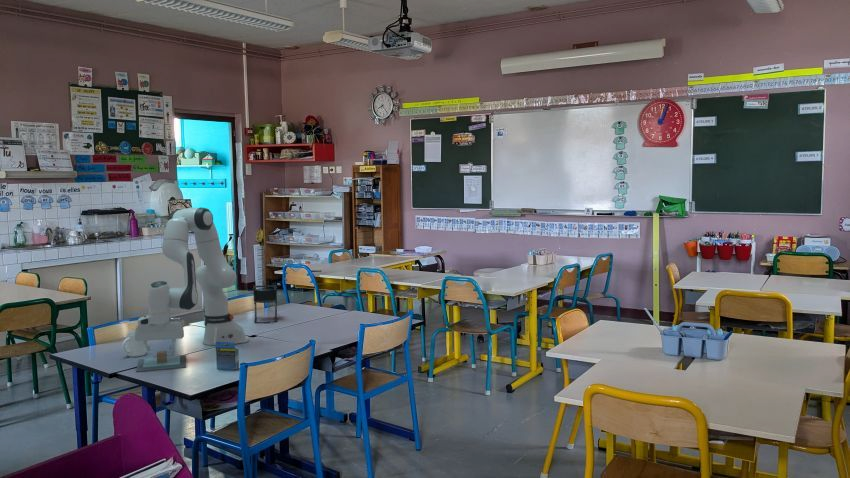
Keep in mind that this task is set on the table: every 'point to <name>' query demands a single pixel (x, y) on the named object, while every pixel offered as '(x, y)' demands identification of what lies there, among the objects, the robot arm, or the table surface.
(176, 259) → the robot arm
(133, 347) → the mug
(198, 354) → the table surface
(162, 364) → the lid
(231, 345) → the label tape cartridge
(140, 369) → the mat
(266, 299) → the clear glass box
